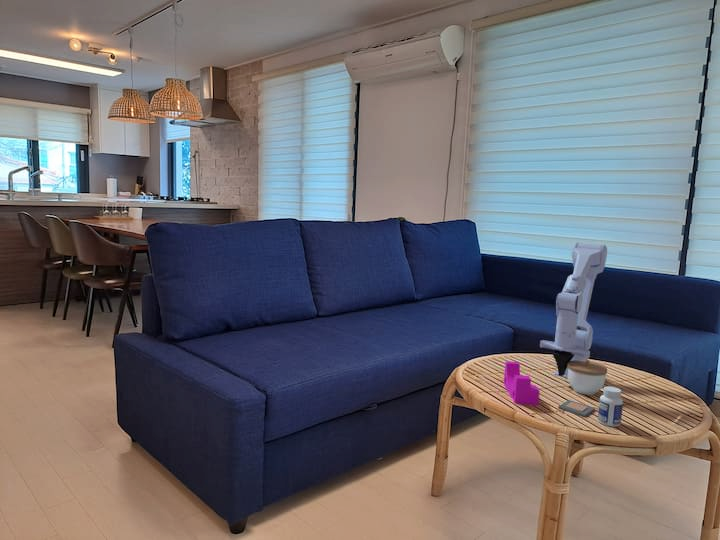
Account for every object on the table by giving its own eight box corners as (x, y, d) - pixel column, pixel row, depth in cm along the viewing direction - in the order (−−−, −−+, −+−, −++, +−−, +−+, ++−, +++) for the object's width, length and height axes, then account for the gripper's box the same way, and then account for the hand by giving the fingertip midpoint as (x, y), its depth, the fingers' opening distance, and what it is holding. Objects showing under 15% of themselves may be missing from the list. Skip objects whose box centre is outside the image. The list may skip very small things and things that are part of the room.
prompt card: (568, 402, 141) (569, 399, 141) (594, 410, 137) (594, 407, 136) (558, 408, 136) (558, 405, 136) (584, 417, 132) (584, 414, 131)
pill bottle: (618, 420, 130) (622, 387, 129) (622, 428, 126) (626, 394, 124) (596, 416, 132) (600, 384, 131) (598, 424, 127) (602, 390, 126)
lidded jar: (557, 386, 154) (560, 356, 152) (584, 383, 157) (587, 353, 156) (584, 399, 144) (587, 367, 142) (612, 396, 147) (616, 364, 146)
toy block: (537, 406, 138) (540, 379, 137) (514, 404, 138) (516, 378, 137) (524, 386, 153) (526, 362, 152) (503, 385, 153) (505, 361, 152)
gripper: (537, 328, 156) (533, 371, 157) (585, 339, 145) (580, 384, 147) (547, 325, 160) (543, 366, 162) (594, 335, 150) (589, 379, 152)
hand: (561, 375), depth 155 cm, fingers closed
